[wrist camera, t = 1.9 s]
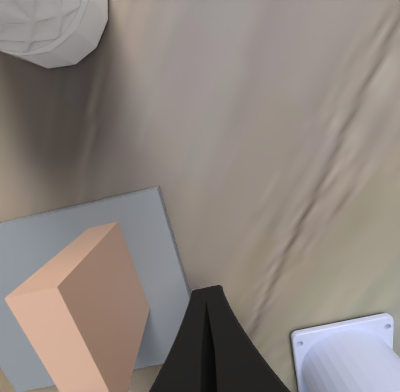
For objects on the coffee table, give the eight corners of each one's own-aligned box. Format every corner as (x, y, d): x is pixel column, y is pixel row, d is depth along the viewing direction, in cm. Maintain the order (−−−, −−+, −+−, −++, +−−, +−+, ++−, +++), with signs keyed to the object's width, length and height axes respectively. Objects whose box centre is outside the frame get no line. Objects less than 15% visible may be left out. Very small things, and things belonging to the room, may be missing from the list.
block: (149, 308, 15) (121, 415, 9) (122, 314, 15) (76, 423, 9) (118, 221, 13) (57, 287, 7) (86, 228, 13) (1, 299, 7)
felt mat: (205, 345, 17) (206, 355, 16) (24, 381, 18) (17, 392, 17) (159, 185, 13) (157, 188, 13) (-68, 238, 14) (-84, 244, 13)
